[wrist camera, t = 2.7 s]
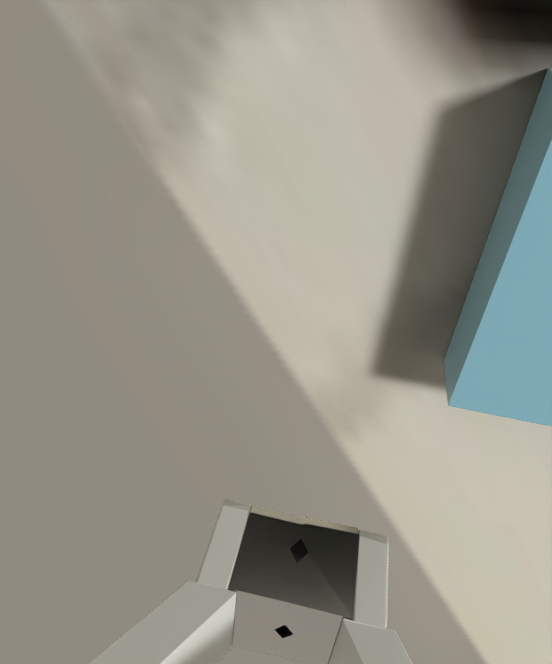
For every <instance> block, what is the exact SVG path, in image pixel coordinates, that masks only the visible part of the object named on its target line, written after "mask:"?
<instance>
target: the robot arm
mask: <svg viewBox="0 0 552 664" xmlns="http://www.w3.org/2000/svg"><path fill="white" fill-rule="evenodd" d="M388 546H389V542H388V538H387V536H386V535H384V534H380V533H374V532H370V531H365V530H360V529H359V530H358V528H356V527H351V526H346V525H341V524H337V523H332V522H327V521H323V520H318V519H313V518H308V517H305V518H304V517H300V516H296V515H292V514H288V513H284V512H280V511H275V510H271V509H267V508H263V507H259V506H255V505H252V504H247V503H243V502H239V501H235V500H230V499H225V501H224V503H223V505H222V507H221V509H220V512H219V515H218V518H217V521H216V524H215V527H214V530H213V533H212V536H211V539H210V542H209V544H208V547H207V550H206V553H205V556H204V559H203V562H202V565H201V568H200V571H199V574H198V577H197V580H196V581H191V580H187V581H186V582H185V583H184V584H182V585H181V586H180V587H179V588H178V589H177V590H175V591H174V592H173V593H172V594H171V595H170V596H168V597H167V598H166V599H165V600H164V601H162V602H161V603H160V604H159V605H158V606H157V607H155V609H153V610H152V611H151V612H150V613H148V614H147V615H146V616H145V617H144V618H142V619H141V620H140V621H139V622H138V623H137V624H135V625H134V626H133V627H132V628H131V629H130V630H128V631H127V632H126V633H125V634H124V635H123V636H121V637H120V638H119V639H118V640H117V641H116V642H114V643H113V644H112V645H111V646H110V647H109V648H107V649H106V650H105V651H104V652H103V653H101V654H100V655H99V656H98V657H97V658H95V659H94V660H93V661H92V662H91V663H90V664H219V663H220V662H221V661H222V660H223V658H224V657H225V656H226V655H227V654H228V653H229V652H230V651H231V646H232V647H237V648H241V649H246V650H250V651H254V652H259V653H264V654H268V655H272V656H277V657H280V658H284V659H287V660H291V661H294V662H298V663H301V664H412V662H411V660H410V658H409V656H408V654H407V652H406V650H405V648H404V646H403V644H402V643H401V641H400V639H399V637H398V635H397V633H396V631H393V630H390V629H387V595H388V593H387V592H388V549H389V548H388Z"/></svg>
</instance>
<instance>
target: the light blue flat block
mask: <svg viewBox="0 0 552 664" xmlns="http://www.w3.org/2000/svg"><path fill="white" fill-rule="evenodd" d="M444 369H445V379H446V389H447V400H448V406H452V407H457V408H462V409H467V410H472V411H477V412H482V413H487V414H492V415H497V416H502V417H507V418H512V419H517V420H522V421H527V422H532V423H537V424H542V425H547V426H552V69H548V70H547V73H546V76H545V78H544V81H543V84H542V87H541V90H540V92H539V95H538V98H537V101H536V104H535V106H534V109H533V112H532V115H531V118H530V120H529V123H528V126H527V129H526V132H525V134H524V137H523V140H522V143H521V146H520V148H519V151H518V154H517V157H516V160H515V162H514V165H513V168H512V171H511V174H510V176H509V179H508V182H507V185H506V188H505V190H504V193H503V196H502V199H501V202H500V204H499V207H498V210H497V213H496V216H495V218H494V221H493V224H492V227H491V230H490V232H489V235H488V238H487V241H486V244H485V246H484V249H483V252H482V255H481V258H480V260H479V263H478V266H477V269H476V272H475V274H474V277H473V280H472V283H471V286H470V288H469V291H468V294H467V297H466V300H465V302H464V305H463V308H462V311H461V314H460V316H459V319H458V322H457V325H456V328H455V330H454V333H453V336H452V339H451V342H450V344H449V347H448V350H447V353H446V356H445V358H444Z"/></svg>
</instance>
